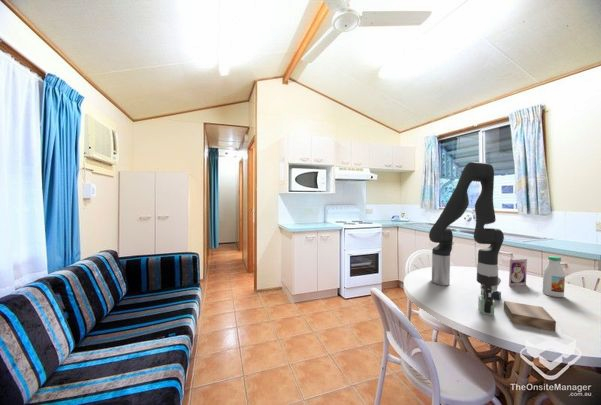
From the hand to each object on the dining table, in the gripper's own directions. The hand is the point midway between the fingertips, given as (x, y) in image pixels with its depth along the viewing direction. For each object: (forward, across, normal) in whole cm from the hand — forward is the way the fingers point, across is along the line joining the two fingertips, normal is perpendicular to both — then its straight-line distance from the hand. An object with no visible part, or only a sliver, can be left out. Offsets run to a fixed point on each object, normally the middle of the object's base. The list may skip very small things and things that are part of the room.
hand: (486, 309), depth 109 cm
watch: (+1, -20, +6) cm, 21 cm away
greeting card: (+1, -48, +20) cm, 52 cm away
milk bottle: (+1, -38, +34) cm, 51 cm away
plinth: (+1, 0, +14) cm, 14 cm away
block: (+1, 0, 0) cm, 1 cm away
